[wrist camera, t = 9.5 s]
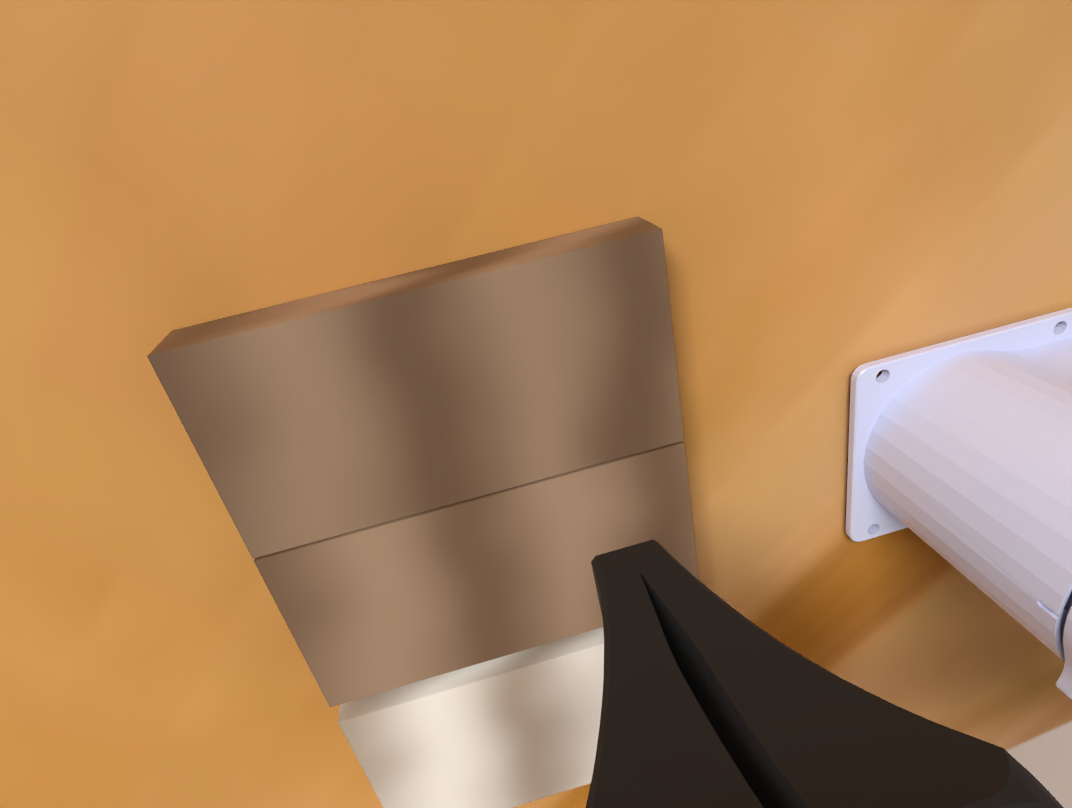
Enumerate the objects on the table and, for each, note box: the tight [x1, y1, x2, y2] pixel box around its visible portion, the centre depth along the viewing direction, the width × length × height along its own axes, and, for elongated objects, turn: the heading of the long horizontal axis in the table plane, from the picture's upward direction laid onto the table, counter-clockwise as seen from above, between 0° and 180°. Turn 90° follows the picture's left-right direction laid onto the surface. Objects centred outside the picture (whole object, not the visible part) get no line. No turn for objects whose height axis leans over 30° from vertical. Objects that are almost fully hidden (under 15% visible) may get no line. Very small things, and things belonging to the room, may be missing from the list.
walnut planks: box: [147, 217, 699, 707], centre depth 21 cm, size 14×14×2 cm
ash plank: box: [338, 627, 604, 808], centre depth 27 cm, size 14×8×2 cm, turn 102°
